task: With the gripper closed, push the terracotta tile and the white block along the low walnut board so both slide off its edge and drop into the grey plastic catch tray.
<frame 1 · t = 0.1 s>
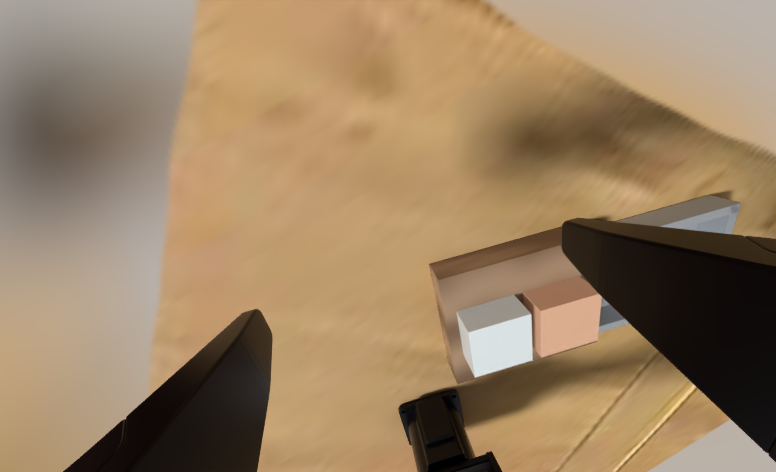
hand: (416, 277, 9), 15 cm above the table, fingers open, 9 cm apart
catch tray: (639, 259, 30), on the table
white block: (487, 325, 27), point 2 cm above the table, touching walnut board
walnut board: (511, 297, 29), on the table
tile terracotta: (550, 307, 27), point 2 cm above the table, touching walnut board
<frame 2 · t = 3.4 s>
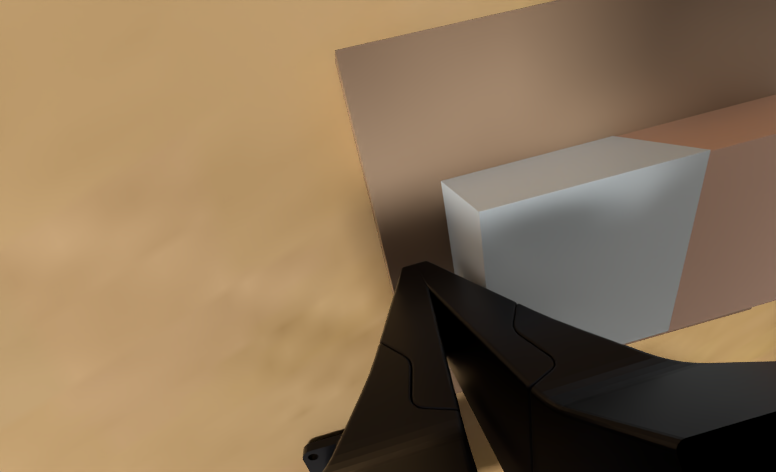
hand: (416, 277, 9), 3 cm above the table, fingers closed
white block: (529, 237, 10), point 3 cm above the table, touching gripper
walnut board: (554, 195, 12), on the table
tile terracotta: (678, 197, 10), point 3 cm above the table
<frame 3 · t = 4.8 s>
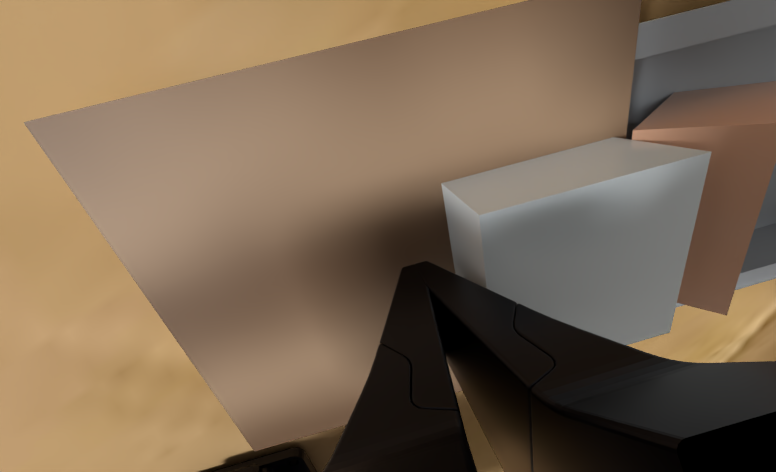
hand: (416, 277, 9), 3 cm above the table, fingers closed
catch tray: (708, 150, 12), on the table
white block: (530, 239, 10), point 3 cm above the table, touching gripper, tile terracotta
walnut board: (389, 236, 12), on the table
tile terracotta: (645, 187, 10), point 2 cm above the table, tilted 34°, touching catch tray, white block
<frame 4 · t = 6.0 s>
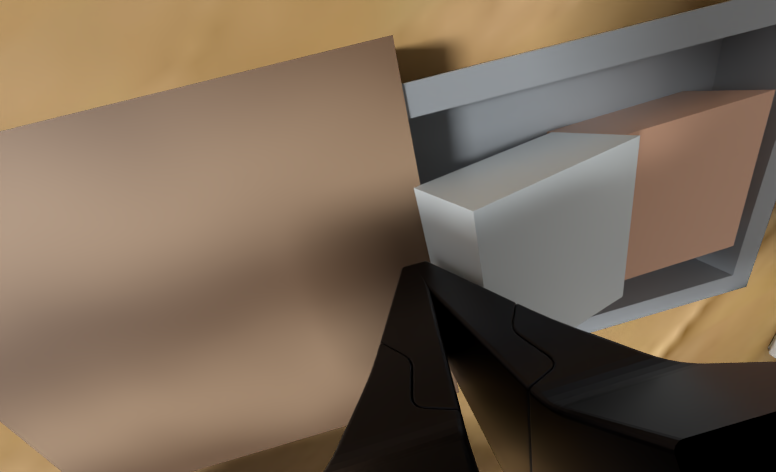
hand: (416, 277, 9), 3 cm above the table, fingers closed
catch tray: (565, 189, 12), on the table
white block: (496, 232, 10), point 2 cm above the table, tilted 15°, touching gripper, tile terracotta, walnut board
walnut board: (233, 280, 11), on the table
tile terracotta: (611, 180, 12), resting on catch tray, touching white block
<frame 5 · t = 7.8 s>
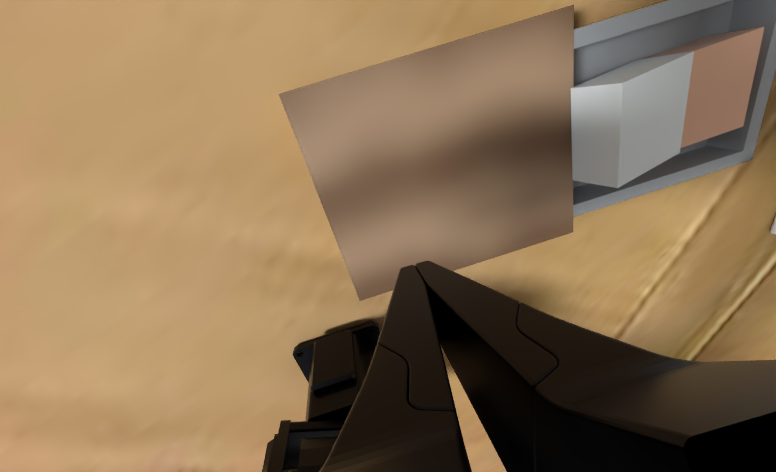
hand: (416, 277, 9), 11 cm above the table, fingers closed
catch tray: (636, 102, 19), on the table
white block: (603, 121, 17), point 2 cm above the table, tilted 15°, touching tile terracotta, walnut board
walnut board: (437, 165, 19), on the table
tile terracotta: (665, 94, 19), resting on catch tray, touching white block
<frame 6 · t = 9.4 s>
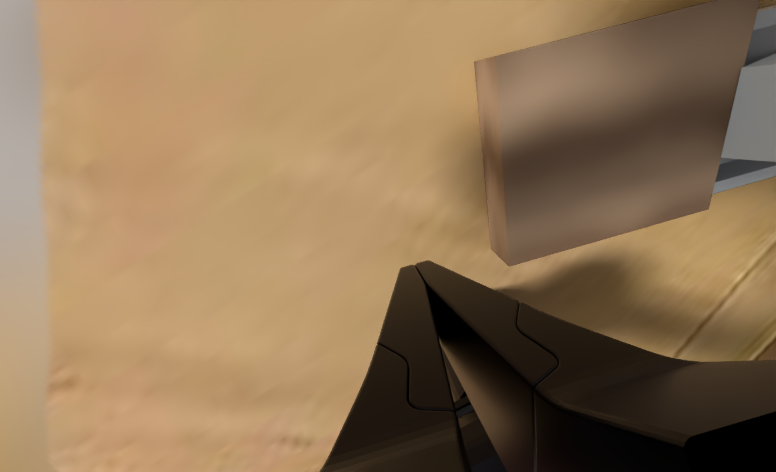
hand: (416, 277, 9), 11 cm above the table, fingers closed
catch tray: (770, 90, 20), on the table
white block: (754, 103, 19), point 2 cm above the table, tilted 15°, touching tile terracotta, walnut board
walnut board: (587, 139, 20), on the table
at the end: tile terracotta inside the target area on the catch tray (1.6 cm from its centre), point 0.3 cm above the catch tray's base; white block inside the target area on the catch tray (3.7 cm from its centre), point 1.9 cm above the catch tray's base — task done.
